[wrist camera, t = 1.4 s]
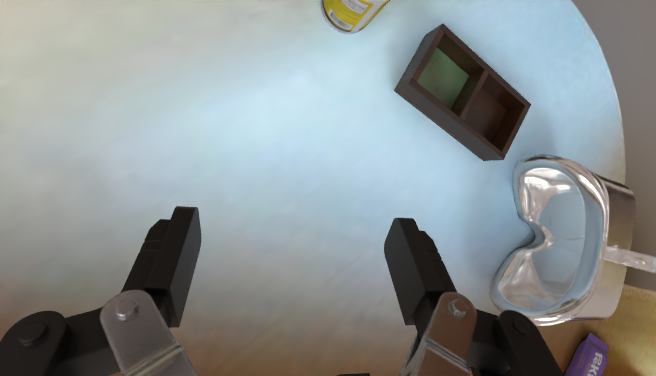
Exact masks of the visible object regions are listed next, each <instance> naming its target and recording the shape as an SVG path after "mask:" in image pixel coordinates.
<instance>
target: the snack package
mask: <svg viewBox="0 0 656 376" xmlns="http://www.w3.org/2000/svg"><path fill="white" fill-rule="evenodd" d="M608 347H609V346H608V345H606V344H605V343H603V342H602V341H601V340H600V339H598V338H597V337H595V336H594V335H593V334H592V333H589V335H588V337H587V338H586V340H584V341H582V342H581V344H580V345H579V346H578V348H577V350H576V351H575V354H574V356H573V358H572V361H571V363H570V365H569V367H568V369H567V371H566V373H565V375H564V376H601V375H602V373H603V371H604V369H605V366H606V363H607V350H608Z"/></svg>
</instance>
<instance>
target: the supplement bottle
mask: <svg viewBox="0 0 656 376" xmlns="http://www.w3.org/2000/svg"><path fill="white" fill-rule="evenodd" d="M389 1H390V0H321V7H322V12H323V15H324V17H325V19H326V21H327V22H328V23H329V24H330V26H331V27H333V28H334V29H335V30H337V31H339V32H341V33H345V34H353V33H357V32H359V31H360V30H362V29H363V28H364V27H365V26H366V25H367V24H368V23H369V22H370V21H371V20H372V19H373V18H374V17H375V16H376V15H377V14H378V13H379V11H380V10H381V9H382V8H383V7H384V6H385V5H386V4H387V3H388V2H389Z"/></svg>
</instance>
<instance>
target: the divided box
mask: <svg viewBox="0 0 656 376" xmlns="http://www.w3.org/2000/svg"><path fill="white" fill-rule="evenodd" d="M394 91H395V92H396V93H398V94H399V95H400V96H401V97H403V98H404V99H405V100H406V101H408V102H409V103H410V104H412V105H413V106H414V107H415V108H417V109H418V110H419V111H421V112H422V113H423V114H424V115H426V116H427V117H428V118H429V119H431V120H432V121H433V122H435V123H436V124H437V125H438V126H440V127H441V128H442V129H444V130H445V131H446V132H447V133H449V134H450V135H451V136H452V137H454V138H455V139H456V140H458V141H459V142H460V143H461V144H463V145H464V146H465V147H466V148H468V149H469V150H470V151H472V152H473V153H474V154H475V155H477V156H478V157H479V158H481V159H482V160H483V161H486V160H487V161H489V160H504V158H505V156H506V154H507V152H508V150H509V148H510V146H511V144H512V142H513V140H514V138H515V136H516V134H517V132H518V130H519V128H520V126H521V124H522V122H523V120H524V118H525V116H526V114H527V112H528V110H529V108H530V106H531V104H530V103H529V102H528V101H527V100H526V99H525V98H524V97H523V96H521V95H520V94H519V93H518V92H517V91H516V90H515V89H514V88H513V87H512V86H511V85H509V84H508V83H507V82H506V81H505V80H504V79H503V78H502V77H501V76H500V75H499V74H497V73H496V72H495V71H494V70H493V69H492V68H491V67H490V66H489V65H488V64H487V63H485V62H484V61H483V60H482V59H481V58H480V57H479V56H478V55H477V54H476V53H475V52H473V51H472V50H471V49H470V48H469V47H468V46H467V45H466V44H465V43H464V42H463V41H461V40H460V39H459V38H458V37H457V36H456V35H455V34H454V33H453V32H452V31H451V30H449V29H448V28H447V27H446V26H445V25H444V24H441V25H440V26H438V27H437V28H435V29H434V30H432V31H431V32H429V33H428V34H426V35H425V37H424V39H423V40H422V42H421V44H420V46H419V48H418V49H417V51H416V53H415V55H414V56H413V58H412V60H411V62H410V63H409V65H408V67H407V69H406V71H405V72H404V74H403V76H402V78H401V79H400V81H399V83H398V85H397V86H396V88H395V90H394Z"/></svg>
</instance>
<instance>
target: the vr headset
mask: <svg viewBox="0 0 656 376" xmlns="http://www.w3.org/2000/svg"><path fill="white" fill-rule="evenodd" d="M513 192H514V200H515V204H516V208H517V211H518V213H519V215H520V217H521V218H522V220H523V221H524V222H526V223H527V224H529V225H530V226H531V227H532V228H533V230H534V231H535V240H534V241H533V242H532V243H531V244H530V245H528V246H526V247H521V248H518V249H516V250H514V251H513V252H512V253H511V254H510V255H509V256H508V257H507V258H506V259H505V261H504V262H503V264H502V265H501V267H500V268H499V270H498V272H497V274H496V276H495V278H494V280H493V282H492V284H491V287H490V292H489V295H490V299H491V301H492V303H493V304H494V306H495V307H496V308H497V309H498V310H499V311H500V312H501V313H502V312H503V311H505V310H514V311H517V312H520V313H522V314H524V315H525V316H526V317H528V318H529V319H530V320H531V321H532V322H533V323H534V324H535V325H541V326H544V325H554V324H558V323H561V322H564V321H581V320H603V319H606V318H608V317H609V316H611V315H612V314H613V313H614V311H615V309H616V307H617V305H618V302H619V299H620V295H621V291H622V287H623V283H624V278H625V274H626V269H627V265H628V266H632V267H635V268H638V269H642V270H646V271H649V272H652V273H656V257H654V256H649V255H646V254H642V253H637V252H634V251H630V248H631V242H632V237H633V232H634V225H635V216H636V199H635V196H634V194H633V192H632V191H631V190H630V189H629V188H628V187H626V186H625V185H623V184H620V183H618V182H615V181H612V180H610V179H607V178H605V177H602V176H600V175H598V174H596V173H593V172H591V171H589V170H588V169H586V168H584V167H583V166H581V165H580V164H578V163H576V162H574V161H571V160H569V159H566V158H562V157H558V156H553V155H544V154H543V155H534V156H530V157H526V158H524V159H522V160H521V161H519V162H518V163H517V164H516V166H515V167H514V170H513Z"/></svg>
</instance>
